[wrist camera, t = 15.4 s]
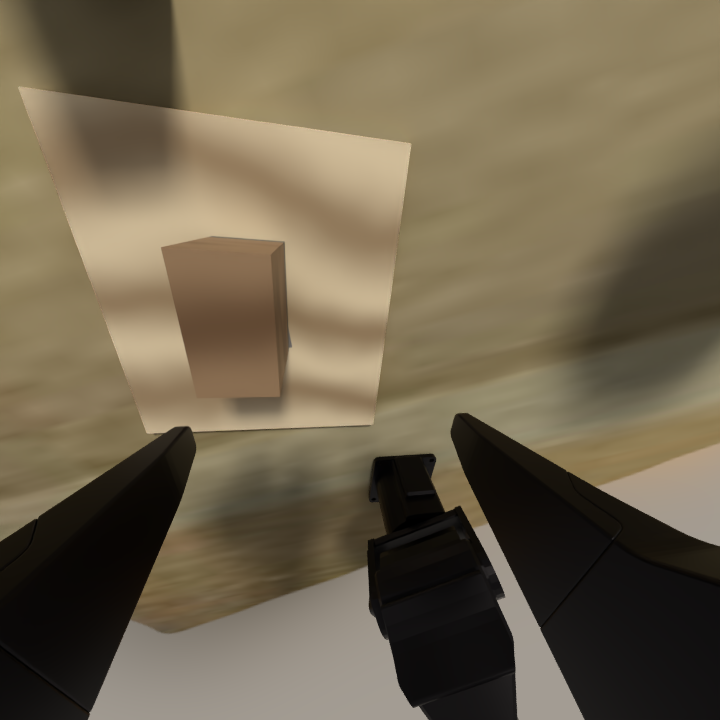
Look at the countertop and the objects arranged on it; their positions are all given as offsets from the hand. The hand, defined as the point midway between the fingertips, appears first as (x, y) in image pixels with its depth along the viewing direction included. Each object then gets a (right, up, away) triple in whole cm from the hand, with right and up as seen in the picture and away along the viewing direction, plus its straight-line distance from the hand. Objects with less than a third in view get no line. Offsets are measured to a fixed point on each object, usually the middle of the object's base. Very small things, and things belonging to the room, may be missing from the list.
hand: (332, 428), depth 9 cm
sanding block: (-6, +6, +8) cm, 12 cm away
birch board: (-6, +6, +9) cm, 13 cm away
